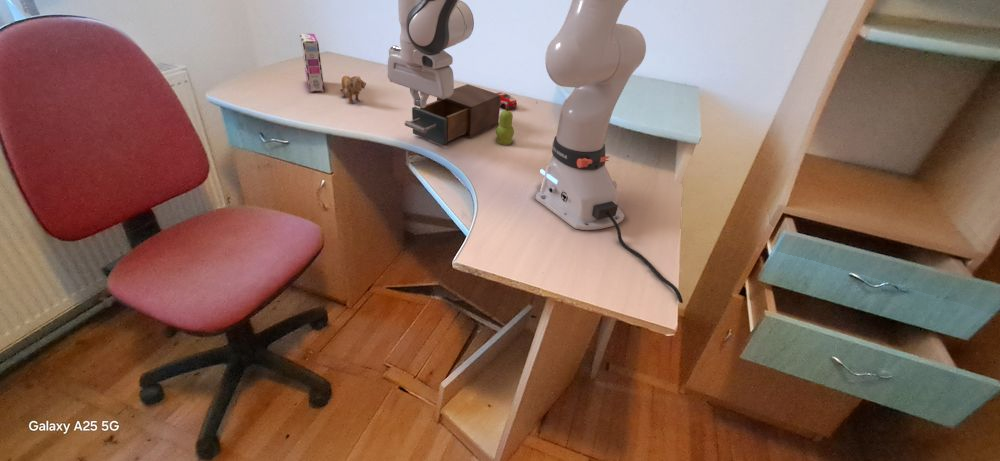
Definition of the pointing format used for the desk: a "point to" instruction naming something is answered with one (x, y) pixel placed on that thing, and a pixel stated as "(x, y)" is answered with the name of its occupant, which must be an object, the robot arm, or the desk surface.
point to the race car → (507, 101)
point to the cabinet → (477, 107)
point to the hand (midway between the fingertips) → (420, 106)
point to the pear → (505, 128)
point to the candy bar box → (312, 62)
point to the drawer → (439, 121)
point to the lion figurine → (352, 87)
